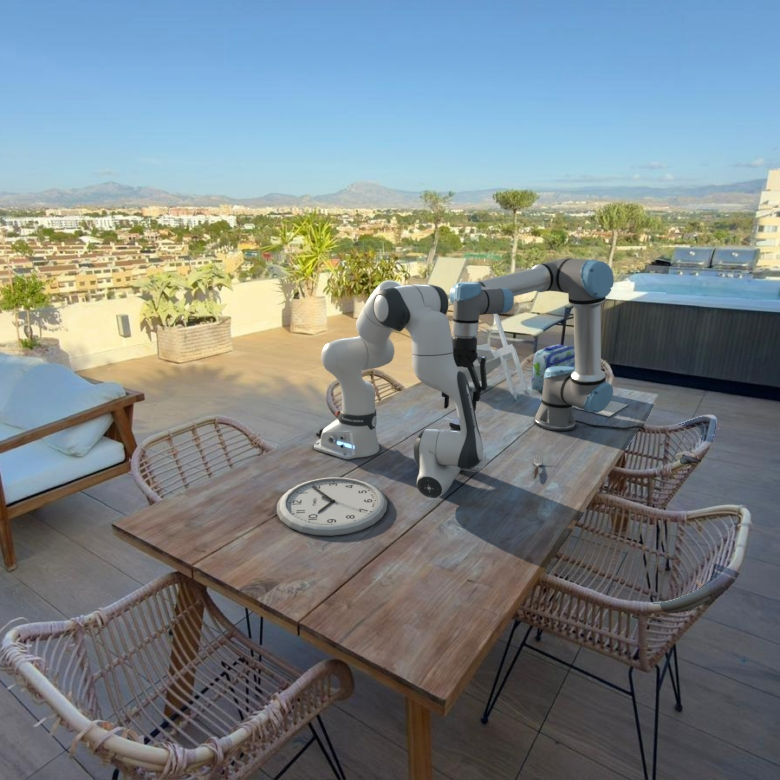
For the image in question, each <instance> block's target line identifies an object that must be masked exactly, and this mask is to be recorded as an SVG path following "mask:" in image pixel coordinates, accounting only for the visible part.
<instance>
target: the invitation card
mask: <svg viewBox="0 0 780 780" xmlns="http://www.w3.org/2000/svg"><path fill="white" fill-rule="evenodd" d="M628 406H629V404H627V403H623V402H618V401H614V400H611V401H610V403H609V404H608V405H607V407H606V408H605V409H603V410H602V411H600V412H597V413H595V414H596V415H600V416H604V417H608V418H609V417H611V416H613V415H614V414H616V413H617V412H619V411H621V410H623V409H624V408H626V407H628ZM573 409H575V410H581V411H584V412H586V411H585V410H584V409H581V408H578V407H576V406H573ZM587 413H590V412H589V411H587ZM591 413H593V412H591ZM593 414H594V413H593Z"/></svg>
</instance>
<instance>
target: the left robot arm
mask: <svg viewBox="0 0 780 780" xmlns="http://www.w3.org/2000/svg"><path fill="white" fill-rule="evenodd" d="M448 310H449V298H448V295H447V292H446V291H445V290H444V288H442V287H441V286H438V285H435V284H408V285H402V284H401V283H399V282H398V281H394V280H383V281H382V282H380V283H379V284H378V285H377V286H376V288H375V289H374V290H373V291H372V292H371V294H370V295H369V297H368V298H367V300H366V301H365V304H364V306H363V307H362V309H361V312H360V313H359V316H358V317H357V319H356V321H355V328H356V332H357V334H358V336H353V337H346V338H339V339H335V340H332V341H330V342H328V343H325V344H324V346H323V347H322V350H321V353H320V360H321V361H320V362H321V364H322V366H323V367H324V369H325V370H326V371H327V372H328V373H330V374H331V375H332V376H333V377H335V379H336V380H337V382H338V384H339V386H340V393H341V407H340V408H339V409H338V410H337V411H336V412H335V413H334V414H335V415H334V416H335V417H337V418H336V419H335V420H333V421H332V422H330V423H329V424H328V425H326V426H325V427H322V428H320V429H319V431H318V432H316V434H315V436H317V437H318V439H317V440H316V441H315V443H314V444H313V449H314V450H316V451H318V452H320V453H324V454H328V455H331V456H334V457H338V458H341V459H344V460H352V459H356V458H366V457H371V456H374V455H376V454H377V453H379V452H380V449H381V448H380V445H379V441H378V436H377V427H376V426H377V408H376V389H375V387H374V385H373V384H372V383H371V382H369V381H368V380H365V379H363V375H362V373H363V371H367V370H372V369H378V368H381V367H384V366H386V365H388V364H390V363H391V362H392V361H393V359H394V357H395V346H394V343H393V342H392V340H391V338H390V337H391V335H392V333H393V331H394V330H395V331H396V332H402V331H403V330H404V329H405V330H406V331H407V332H408V333H409V334H410V335H409V336H410V340H411V347H410V349H411V365H412V370H413V373H414V375H415V377H416V378H417V379H418V381H420V382H421V383H422V384H424V385H425V386H427V387H429V388H430V389H431V388H432V389H434V390H437V391H439V392H440V393H442V392H443V393H445V394H447V395H448V396H449V398H450V399H451V400H452V401H453V402H454V404H455V408H456V413H457V418H458V419H459V424H460V429H461V431H452V430H451V429H449V430H448V429H439V428H438V429H437V428H425V429H423V430H422V431H421V432H420V433H419V434H418V435H417V437H416V439H415V441H414V445H413V457H414V461H415V464H416V466H417V468H418V470H419V471H418V475H417V478H416V487H417V490H418V491H419V493H420V494H421V495H423V496H424V497H426V498H431V499H437V498H440V497H442V496H443V495H444V494H446V492H447V491H448V490H449V489H450V488H451V486H452V485H453V482H454V481H455V480H456V478H457V477H458V475H459V474H460V472H461V471H460V470H463V471H467V472H472V473H478V472H481V471H483V469H484V467H485V466H486V464H487V454H486V453H484V444H483V440H482V436H481V433H480V430H479V429H480V428H479V426H478V421H477V416H476V410H474V405H473V395H472V392H471V388H470V382H468V380H467V377H466V375H465V374H464V373H463V372H461V371H460V370H459V369H458V367H457V365H456V363H455V361H454V356H453V342H452V337H453V334H452V329H451V325H450V324H451V323H450V320H449V317H448V316H447V313H448ZM319 437H320V438H319Z"/></svg>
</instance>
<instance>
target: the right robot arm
mask: <svg viewBox="0 0 780 780" xmlns="http://www.w3.org/2000/svg"><path fill="white" fill-rule="evenodd" d="M614 278H615V277H614V272H613V270H612V268H611V266H610V265H609V264H608V263H607V262H606V261H602V260H597V259H587V258H571V257H564V258H558V259H553V260H549V261H545V262H542V263H538V264H535V265H534V266H532V268H530V269H529V268H528V269H526V270H522V271H517V272H513V273H512V272H511V273H509V274H504V275H500V276H496V277H492V278H488V279H483V280H479V281H461V282H460V281H459V282H457V283H455V284H454V285H452V287H451V288H450V290H449V300H450V303H451V304H452V305H453V307H452V309H453V311H452V325H451V326H452V329H451V334H452V342H453V356H454V361H455V363H456V365H457V367H465V368H468V371H469V372H470V375H471V378H472V381H473V382H472V383H473V387H474V390H473V391H472V400H473V405H474V410H475V411H476V410H477V402H480V400H481V391H486V390H487V388H488V380H487V378H488V377H487V375H486V367H485V363H486V360H487V357H486V356H484V357H482V356H478V354H477V346H478V337H477V336H478V335H479V323H480V316H482V315H493V314H498V315H501V314H507V313H509V312H510V311H511V310H512V309H513V307H514V303H515V297H518V296H521V295H524V294H525V295H526V294H528V293H533V292H538V293H545V292H556V293H557V292H558V293H564V294H568V296H567V297H568V298H567V299H568V304H570V306H572V307H573V337H574V338H573V339H574V341H573V342H574V344H573V345H574V347H575V365H574V367H569V366H555V367H549V368H547V369H546V370H545V374H544V378H543V379H544V380H543V390H542V391H541V402H540V405H539V407H538V410H537V411H536V413H535V416H534V424H535V425H536V426H537V427H539V428H542V429H544V430H549V431H556V432H567V431H572V430H574V429H575V428H576V423H577V424H582V425H585V426H589V427H595V428H604V429H605V428H606V429H615V430H623V431H624V430H631V429H632V430H633V429H637V428H639V429H641V430H642V431H646V428H645V427H643V426H641V425H632V426H627V427H621V426H611V425H602V424H593V423H588V422H584V421H581V420H578V419H576V418H575V417H576V416H575V413H574V407H578V408H581V409H584V410H585V411H584V410H583V411H584V412H588V411H589V412H588V413H592V412H593V414H596V413H597V412H600V411H602V410H603V409H605V408H606V407H607V405H608V404H609V403H610V401H612V399H613V396H614V388H613V385H611V383H609V382H608V381H606V379H607V378H606V376H607V375H606V372H605V371H603V370H602V325H601V323H602V317H601V316H602V315H601V314H602V313H601V311H602V309H601V307H602V306H601V305H602V304H603V303H604V302H605V301H606V297H607V296H609V294H610V293H611V291H612V288H613V286H614V282H615V281H614V280H615V279H614ZM476 359H477V360H478V363H479V364H480V374H481V381H480V382H479V380H478V377H477V374H476V371H475V368H474V364H473V362H474V361H475V360H476ZM441 397H442V398H444V401H443V402H444V403H443V404H444V405H443V409H448V407H449V406H450V397H449V396H448V395H447V394H445V393H443V392H441Z"/></svg>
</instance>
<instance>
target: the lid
mask: <svg viewBox="0 0 780 780" xmlns="http://www.w3.org/2000/svg"><path fill="white" fill-rule="evenodd" d="M449 428H450V429H451V428H453V429H458V430H461V429H460V424H459V419H458V417H454V418H450V420H449Z"/></svg>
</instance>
